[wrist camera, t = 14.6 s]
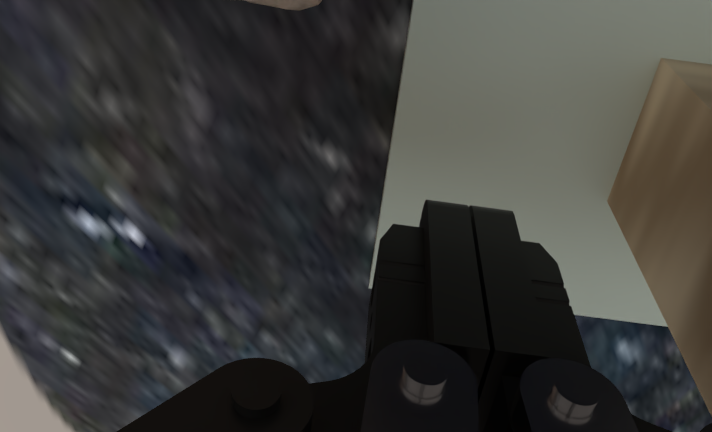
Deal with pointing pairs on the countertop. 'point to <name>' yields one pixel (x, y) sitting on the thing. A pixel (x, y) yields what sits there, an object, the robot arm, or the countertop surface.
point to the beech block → (674, 207)
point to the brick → (288, 3)
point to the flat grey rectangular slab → (536, 125)
